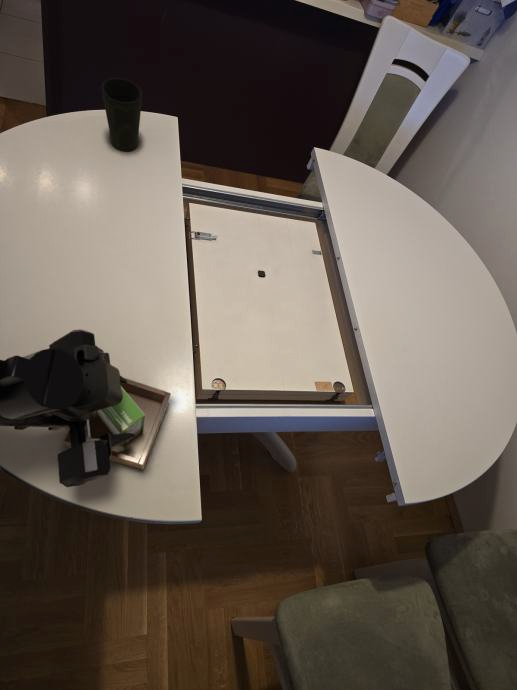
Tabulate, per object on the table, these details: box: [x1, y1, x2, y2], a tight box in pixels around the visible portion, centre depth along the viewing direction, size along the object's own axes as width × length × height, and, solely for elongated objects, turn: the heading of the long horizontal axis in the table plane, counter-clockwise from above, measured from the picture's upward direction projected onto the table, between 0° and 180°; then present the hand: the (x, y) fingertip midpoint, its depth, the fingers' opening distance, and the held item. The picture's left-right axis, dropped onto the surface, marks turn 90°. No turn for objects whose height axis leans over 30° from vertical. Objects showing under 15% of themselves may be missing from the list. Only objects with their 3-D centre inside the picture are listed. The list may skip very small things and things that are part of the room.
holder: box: [63, 377, 171, 471], centre depth 60 cm, size 11×11×5 cm
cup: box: [100, 77, 143, 153], centre depth 82 cm, size 8×8×12 cm
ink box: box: [96, 387, 145, 446], centre depth 55 cm, size 7×4×13 cm, turn 44°
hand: (128, 408), depth 56 cm, fingers closed on ink box, 8 cm apart
